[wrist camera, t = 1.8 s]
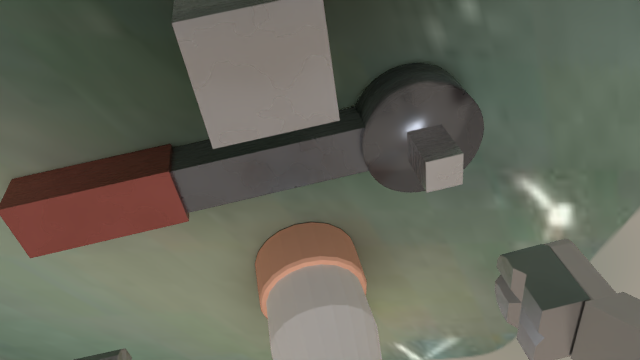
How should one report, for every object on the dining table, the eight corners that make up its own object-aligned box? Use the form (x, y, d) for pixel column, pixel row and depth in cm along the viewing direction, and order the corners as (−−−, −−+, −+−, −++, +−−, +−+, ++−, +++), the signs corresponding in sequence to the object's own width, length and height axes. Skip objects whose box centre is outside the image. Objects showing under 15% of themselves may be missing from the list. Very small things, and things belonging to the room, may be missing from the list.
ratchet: (-4, 154, 28) (-45, 227, 23) (464, 51, 30) (514, 100, 25) (54, 245, 32) (30, 322, 28) (461, 150, 34) (503, 208, 29)
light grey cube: (177, -29, 24) (171, 22, 19) (294, -53, 25) (321, -9, 19) (209, 78, 28) (212, 149, 22) (311, 56, 28) (339, 120, 23)
